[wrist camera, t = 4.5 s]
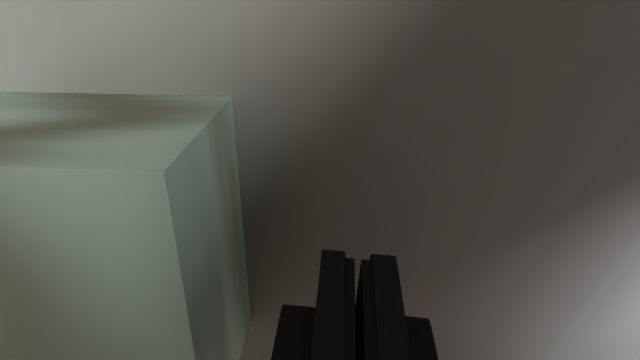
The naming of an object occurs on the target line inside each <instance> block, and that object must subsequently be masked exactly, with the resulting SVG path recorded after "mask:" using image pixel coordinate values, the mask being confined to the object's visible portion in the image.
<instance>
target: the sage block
mask: <svg viewBox="0 0 640 360" xmlns="http://www.w3.org/2000/svg"><path fill="white" fill-rule="evenodd" d="M250 322H251V311H250V299H249V288H248V276H247V265H246V253H245V242H244V230H243V219H242V207H241V196H240V184H239V173H238V161H237V150H236V138H235V127H234V115H233V104H232V96H189V95H135V94H81V93H27V92H0V360H240V357H241V353H242V350H243V346H244V343H245V339H246V336H247V333H248V329H249V326H250Z"/></svg>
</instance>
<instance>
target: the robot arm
mask: <svg viewBox="0 0 640 360" xmlns="http://www.w3.org/2000/svg"><path fill="white" fill-rule="evenodd" d="M345 257H346V252H345V251H335V250H324V249H322V255H321V265H320V274H319V284H318V294H317V303H316V308H315V307H304V306H294V305H284V304H283V305H282V309H281V313H280V318H279V323H278V328H277V333H276V337H275V342H274V347H273V352H272V357H271V360H438V356H437V352H436V347H435V342H434V338H433V333H432V329H431V325H430V322H429V320H428V319H427V318H419V317H409V316H405V313H404V306H403V300H402V293H401V286H400V280H399V273H398V266H397V260H396V257H395V256H389V255H378V254H371V257H370V260H363V259H362V260H361V266H360V273H359V281H358V289H357V296H356V304H355V261H354V259H352V258H345Z"/></svg>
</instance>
